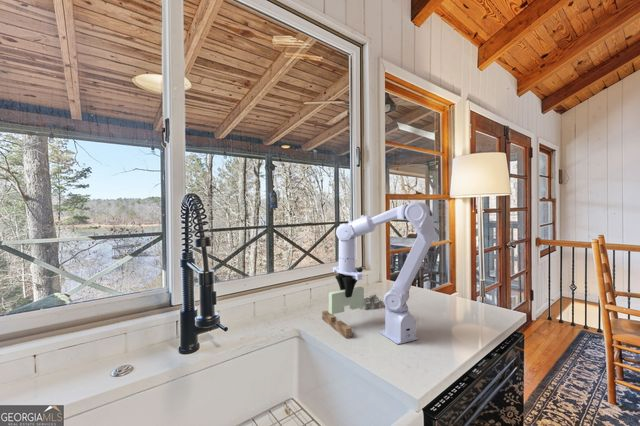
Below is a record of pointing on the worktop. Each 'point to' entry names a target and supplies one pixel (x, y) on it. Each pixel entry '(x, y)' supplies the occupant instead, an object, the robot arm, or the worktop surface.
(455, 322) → the worktop surface
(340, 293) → the long pale green beam
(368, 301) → the egg carton
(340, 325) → the walnut board
